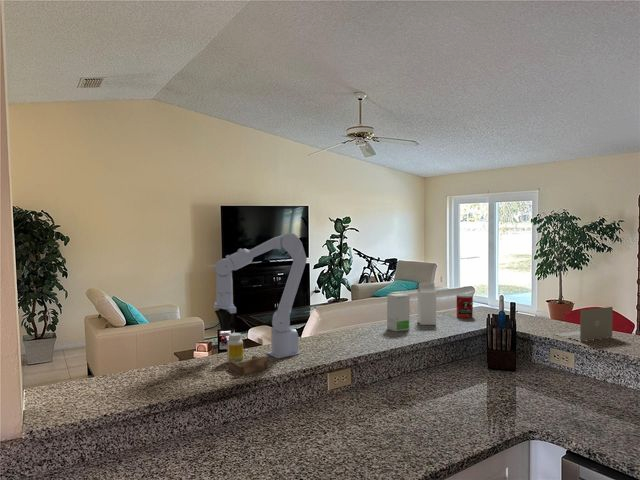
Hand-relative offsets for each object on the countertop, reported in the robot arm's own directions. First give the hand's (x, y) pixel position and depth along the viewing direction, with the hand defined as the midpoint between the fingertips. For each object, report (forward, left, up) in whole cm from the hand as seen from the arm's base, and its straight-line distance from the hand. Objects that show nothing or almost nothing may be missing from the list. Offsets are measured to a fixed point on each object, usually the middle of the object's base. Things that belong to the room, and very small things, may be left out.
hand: (225, 330), depth 161 cm
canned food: (-123, +12, -10) cm, 124 cm away
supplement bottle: (0, +8, -10) cm, 12 cm away
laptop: (-129, +65, -10) cm, 145 cm away
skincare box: (-78, +10, -10) cm, 79 cm away
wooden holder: (0, +17, -9) cm, 19 cm away
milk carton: (-97, +10, -10) cm, 98 cm away
